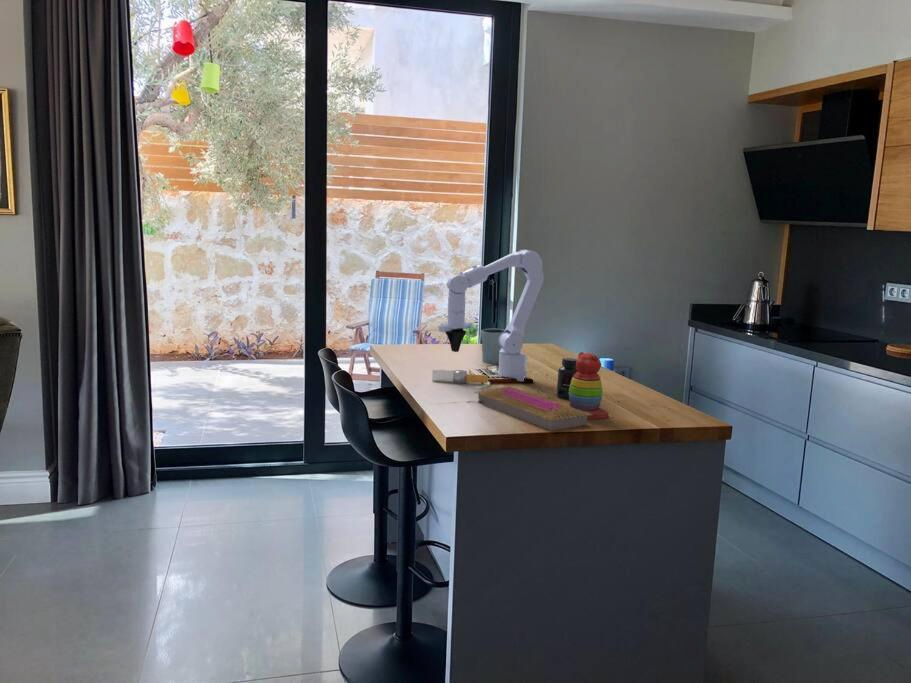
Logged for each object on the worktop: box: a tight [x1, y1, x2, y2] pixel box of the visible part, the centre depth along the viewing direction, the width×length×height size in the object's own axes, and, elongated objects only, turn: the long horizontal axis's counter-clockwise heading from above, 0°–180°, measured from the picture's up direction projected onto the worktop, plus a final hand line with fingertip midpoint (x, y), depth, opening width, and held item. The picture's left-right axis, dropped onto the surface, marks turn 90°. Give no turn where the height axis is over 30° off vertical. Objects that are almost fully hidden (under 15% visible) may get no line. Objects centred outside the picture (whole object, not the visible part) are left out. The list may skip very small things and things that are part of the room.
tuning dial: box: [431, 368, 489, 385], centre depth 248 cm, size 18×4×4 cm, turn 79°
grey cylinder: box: [480, 328, 505, 365], centre depth 291 cm, size 10×10×12 cm
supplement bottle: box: [556, 357, 578, 400], centre depth 237 cm, size 7×7×12 cm
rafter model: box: [474, 385, 592, 431], centre depth 217 cm, size 35×14×6 cm, turn 33°
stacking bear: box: [568, 351, 609, 420], centre depth 216 cm, size 11×10×18 cm
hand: (455, 351), depth 258 cm, fingers closed
